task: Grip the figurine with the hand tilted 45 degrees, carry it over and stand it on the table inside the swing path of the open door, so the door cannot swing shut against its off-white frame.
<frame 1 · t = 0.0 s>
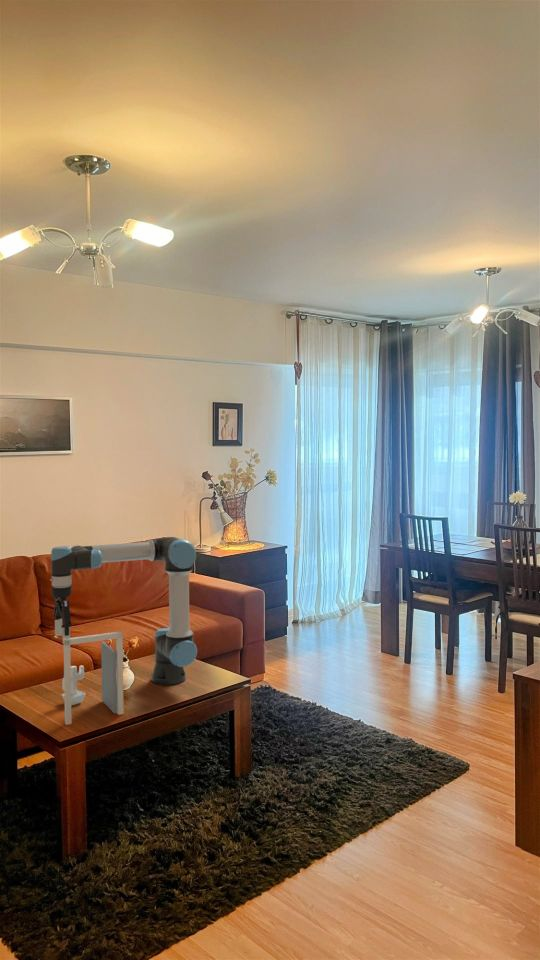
hand: (62, 639, 274), 28 cm above the table, tool pointing down, fingers open, 13 cm apart
door: (110, 676, 276), point 13 cm above the table, hinge at 90.0°
door frame: (94, 718, 265), on the table
figurine: (73, 703, 282), on the table
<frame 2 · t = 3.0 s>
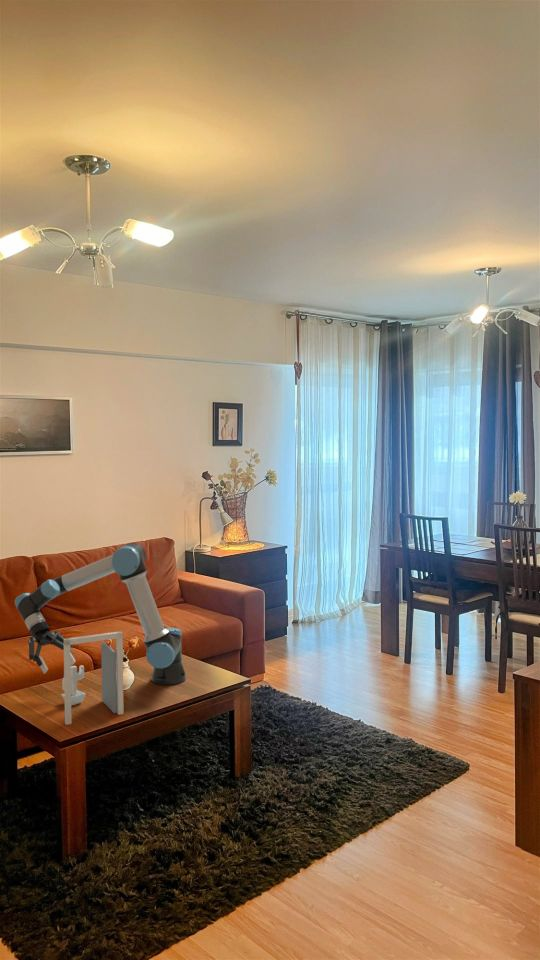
hand: (60, 667, 285), 13 cm above the table, tool tilted 45°, fingers open, 13 cm apart
nothing on the table moved.
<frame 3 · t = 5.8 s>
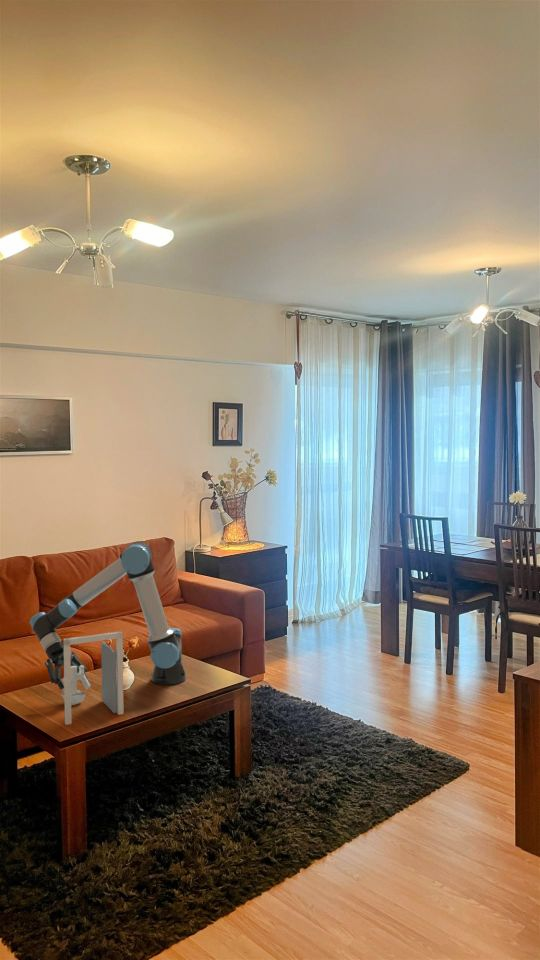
hand: (78, 691, 280), 5 cm above the table, tool tilted 45°, fingers closed on figurine, 9 cm apart
figurine: (73, 703, 282), on the table, touching gripper
everything else where it was.
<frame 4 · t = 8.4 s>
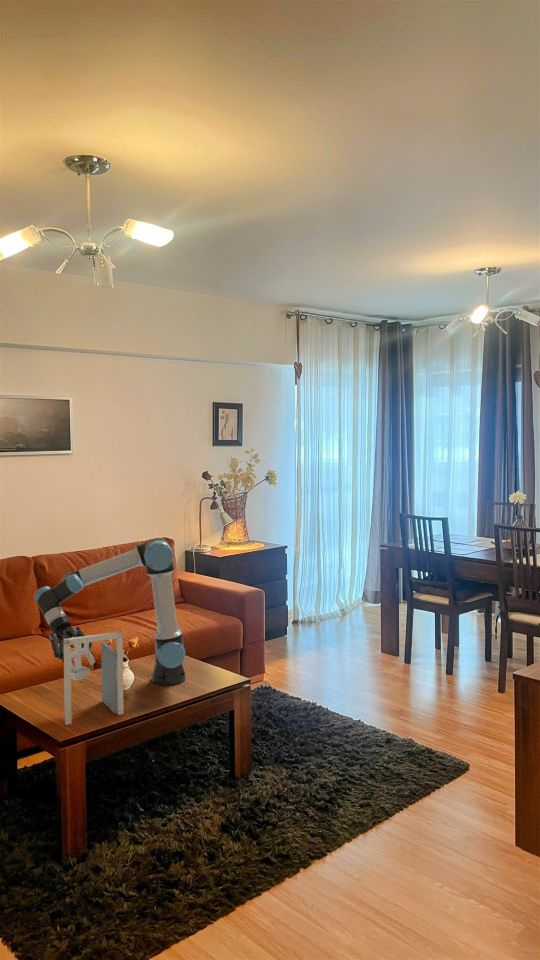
hand: (83, 666, 272), 18 cm above the table, tool tilted 45°, fingers closed on figurine, 9 cm apart
figurine: (78, 678, 274), point 12 cm above the table, touching gripper
everything else where it was.
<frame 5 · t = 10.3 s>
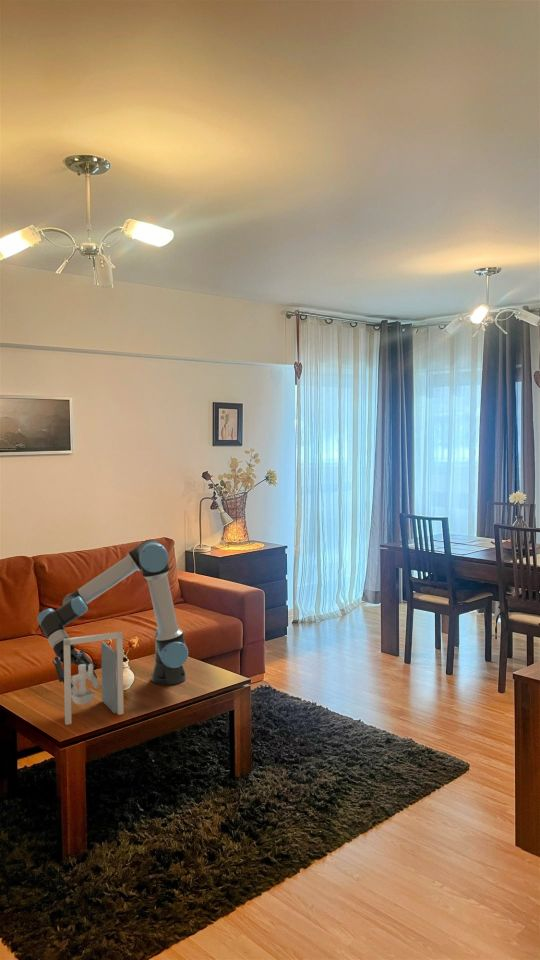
hand: (87, 690, 270), 9 cm above the table, tool tilted 45°, fingers closed on figurine, 9 cm apart
figurine: (82, 702, 272), point 4 cm above the table, touching gripper
everything else where it was.
when the fingers open (7 cm above the table, at t = 11.3 s): figurine drops 1 cm, on the table.
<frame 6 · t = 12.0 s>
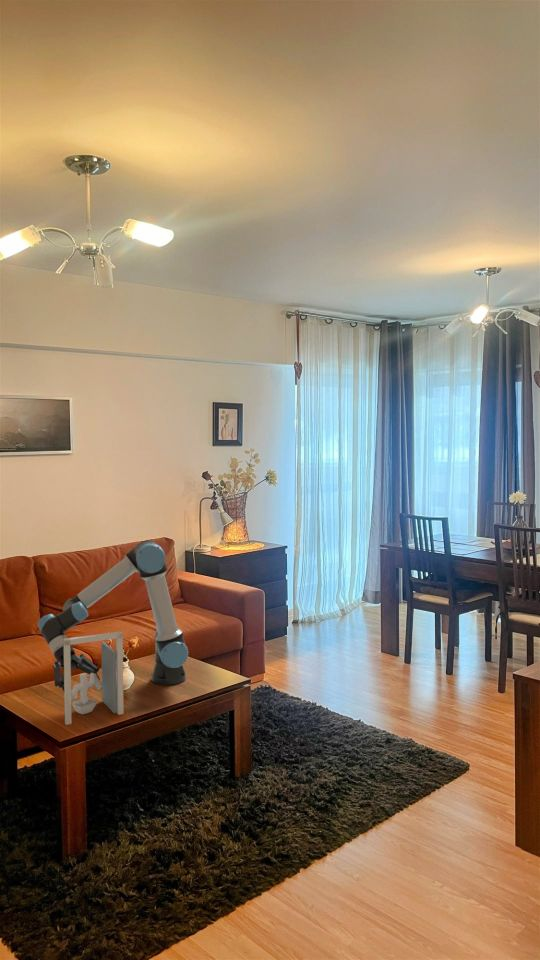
hand: (87, 693, 270), 8 cm above the table, tool tilted 45°, fingers open, 13 cm apart
figurine: (84, 712, 272), on the table
everything else where it was.
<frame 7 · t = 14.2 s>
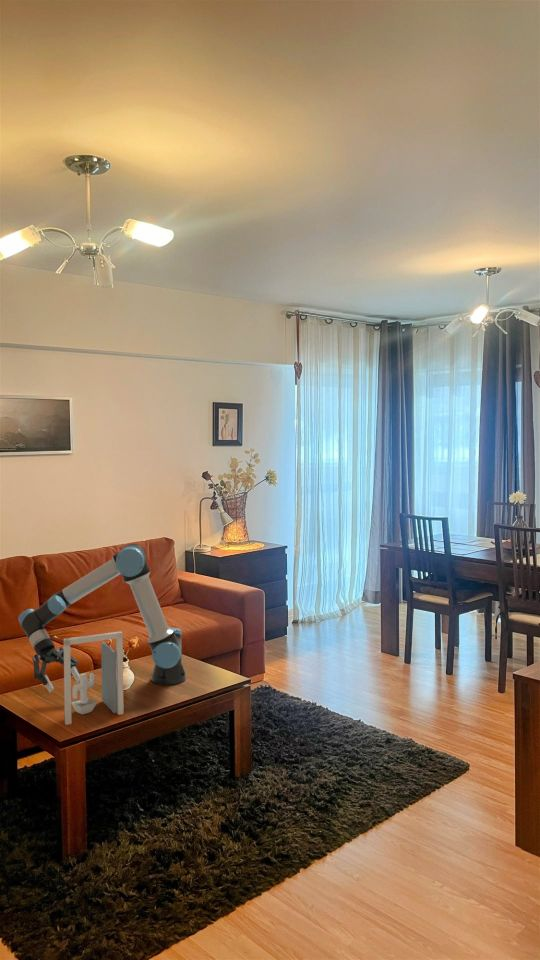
hand: (65, 685, 278), 8 cm above the table, tool tilted 45°, fingers open, 13 cm apart
nothing on the table moved.
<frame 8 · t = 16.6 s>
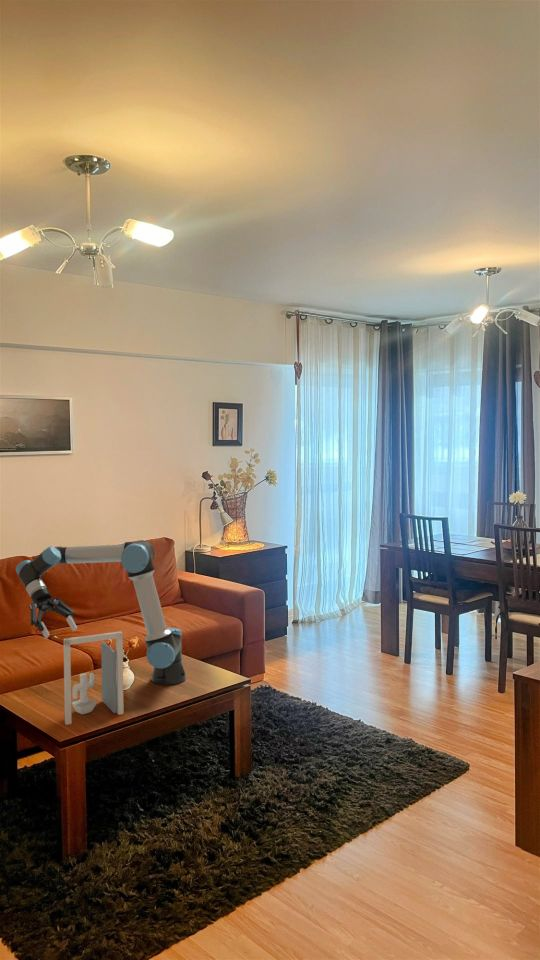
hand: (61, 633, 284), 28 cm above the table, tool tilted 45°, fingers open, 13 cm apart
nothing on the table moved.
at the end: figurine inside the target area (0.3 cm from its centre), on the table; figurine tilted 0°; door at +90° (first picture: +90°) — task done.
